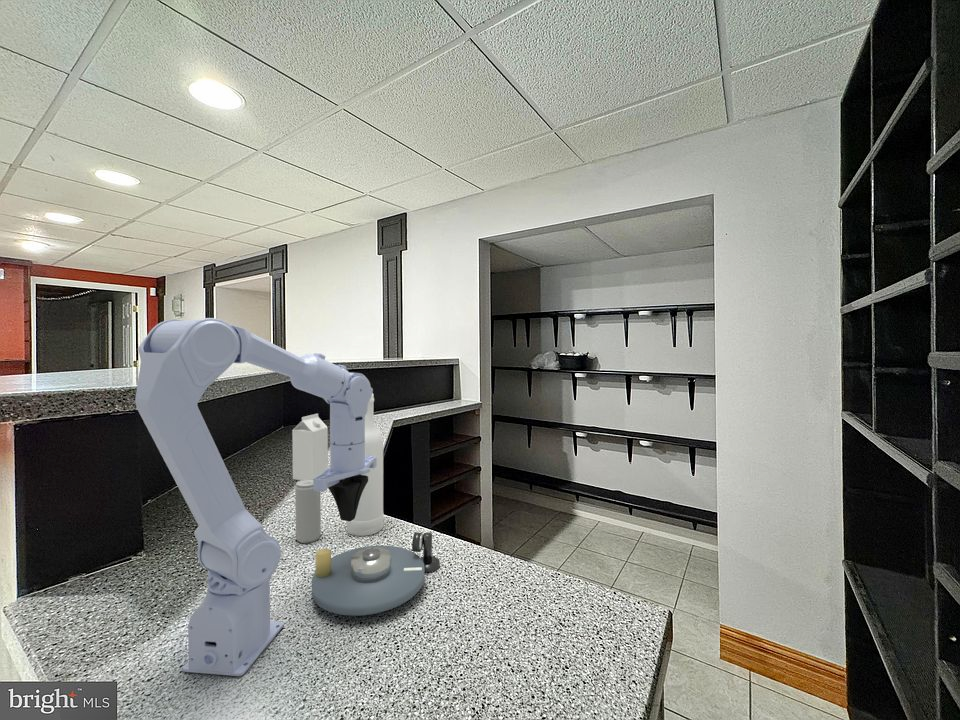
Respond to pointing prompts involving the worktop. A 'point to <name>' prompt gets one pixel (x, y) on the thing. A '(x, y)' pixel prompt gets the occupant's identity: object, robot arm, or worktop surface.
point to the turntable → (356, 598)
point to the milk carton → (310, 448)
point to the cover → (370, 565)
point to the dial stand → (425, 550)
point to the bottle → (370, 483)
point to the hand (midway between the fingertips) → (347, 519)
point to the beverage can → (307, 512)
